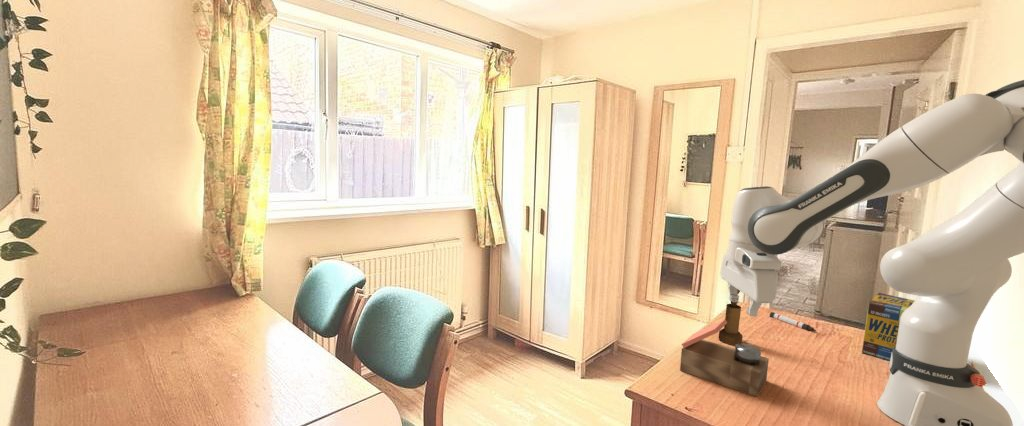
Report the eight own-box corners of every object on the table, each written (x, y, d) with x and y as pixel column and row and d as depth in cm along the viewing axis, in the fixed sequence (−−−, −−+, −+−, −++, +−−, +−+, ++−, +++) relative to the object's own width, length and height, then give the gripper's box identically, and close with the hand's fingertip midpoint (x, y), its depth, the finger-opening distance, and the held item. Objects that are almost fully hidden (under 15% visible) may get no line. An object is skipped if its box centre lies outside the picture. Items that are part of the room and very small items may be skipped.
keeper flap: (727, 322, 113) (725, 319, 113) (717, 332, 106) (714, 328, 107) (695, 337, 119) (693, 334, 119) (683, 347, 112) (681, 344, 112)
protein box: (861, 353, 126) (868, 302, 124) (871, 339, 136) (878, 292, 134) (909, 367, 118) (917, 313, 116) (916, 351, 128) (924, 301, 126)
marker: (769, 317, 154) (769, 312, 153) (773, 316, 155) (773, 311, 154) (813, 334, 140) (814, 328, 140) (817, 333, 141) (818, 327, 140)
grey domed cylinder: (763, 382, 106) (766, 351, 105) (745, 386, 104) (748, 354, 103) (744, 371, 111) (747, 342, 110) (727, 374, 109) (730, 344, 108)
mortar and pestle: (745, 346, 128) (751, 288, 126) (721, 344, 130) (727, 286, 127) (738, 337, 135) (743, 281, 132) (715, 335, 136) (721, 280, 134)
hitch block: (766, 380, 109) (768, 358, 108) (757, 396, 101) (759, 372, 100) (692, 357, 120) (694, 337, 119) (679, 370, 113) (681, 348, 112)
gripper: (717, 243, 114) (711, 293, 116) (756, 263, 94) (749, 323, 96) (741, 244, 114) (735, 294, 116) (785, 264, 94) (778, 325, 96)
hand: (742, 308), depth 106 cm, fingers open, 8 cm apart
